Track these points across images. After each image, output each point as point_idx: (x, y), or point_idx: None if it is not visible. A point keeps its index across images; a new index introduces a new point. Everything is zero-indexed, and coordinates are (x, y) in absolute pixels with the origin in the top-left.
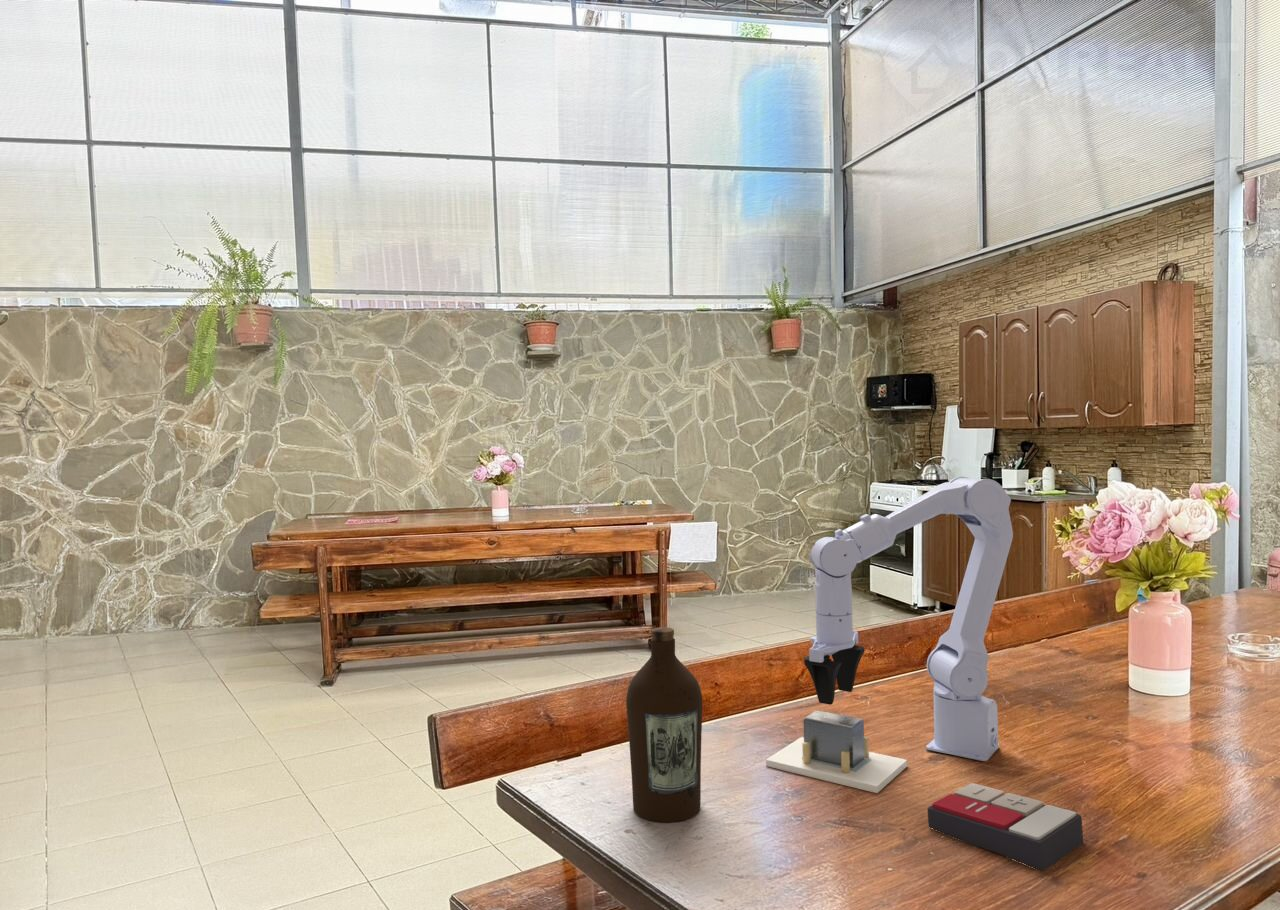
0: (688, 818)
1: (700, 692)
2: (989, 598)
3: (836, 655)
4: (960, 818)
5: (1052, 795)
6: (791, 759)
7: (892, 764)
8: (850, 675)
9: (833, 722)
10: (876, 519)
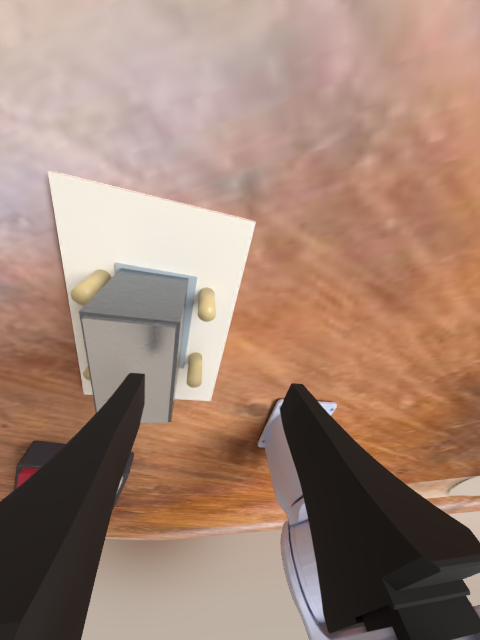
0: None
1: None
2: None
3: (367, 524)
4: (15, 488)
5: (195, 482)
6: (97, 240)
7: (182, 391)
8: (298, 460)
9: (98, 388)
10: None
